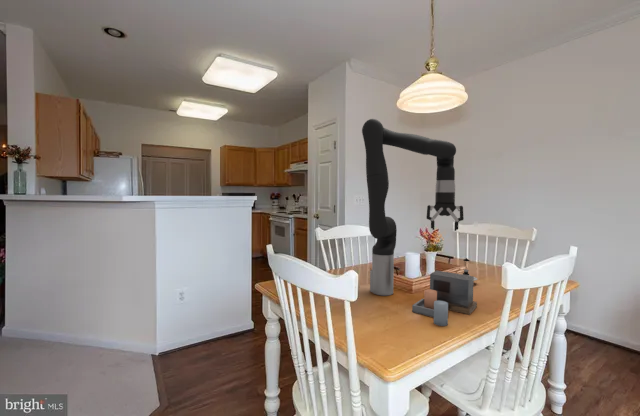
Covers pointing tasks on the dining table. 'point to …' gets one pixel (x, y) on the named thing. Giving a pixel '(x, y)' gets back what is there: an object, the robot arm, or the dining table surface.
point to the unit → (454, 290)
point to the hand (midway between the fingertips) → (444, 230)
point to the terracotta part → (430, 298)
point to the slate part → (441, 313)
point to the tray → (422, 309)
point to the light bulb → (467, 270)
